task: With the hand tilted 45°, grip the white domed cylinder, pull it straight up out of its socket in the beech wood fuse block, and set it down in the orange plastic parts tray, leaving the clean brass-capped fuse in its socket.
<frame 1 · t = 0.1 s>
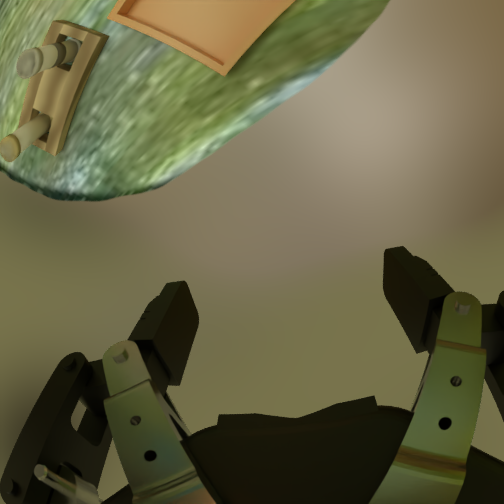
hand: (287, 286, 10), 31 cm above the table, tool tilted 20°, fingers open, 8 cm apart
fuse block: (58, 86, 27), on the table
white domed cylinder: (73, 50, 23), resting in fuse block
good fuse: (47, 120, 30), resting in fuse block
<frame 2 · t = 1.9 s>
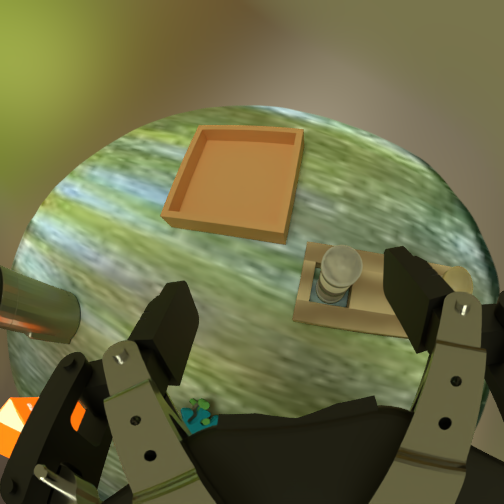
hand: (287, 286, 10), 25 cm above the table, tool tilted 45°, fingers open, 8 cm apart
fuse block: (377, 296, 33), on the table
parts tray: (239, 183, 42), on the table
orange juice: (78, 424, 33), on the table
gear: (202, 429, 31), on the table
white domed cylinder: (330, 288, 34), resting in fuse block
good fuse: (419, 302, 31), resting in fuse block
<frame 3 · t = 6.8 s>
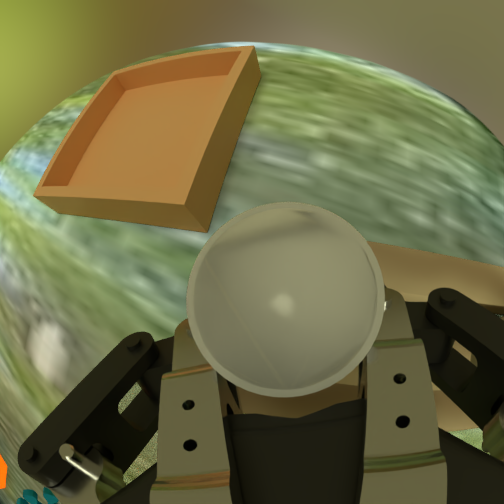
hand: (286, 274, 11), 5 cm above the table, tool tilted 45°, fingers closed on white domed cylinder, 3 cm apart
fuse block: (400, 343, 14), on the table
parts tray: (151, 136, 23), on the table
white domed cylinder: (295, 328, 15), resting in fuse block, touching gripper
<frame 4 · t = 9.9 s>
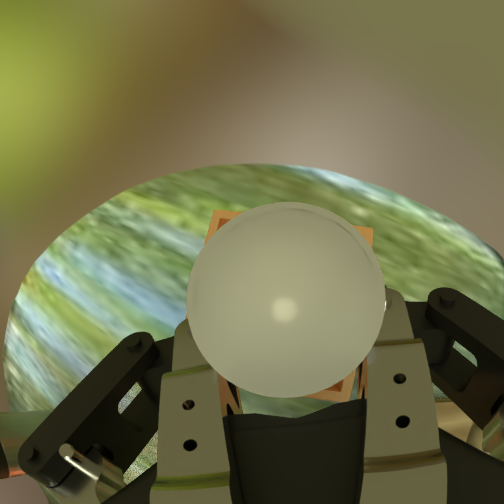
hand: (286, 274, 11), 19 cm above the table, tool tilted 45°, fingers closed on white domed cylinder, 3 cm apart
fuse block: (434, 436, 20), on the table
parts tray: (280, 305, 30), on the table
white domed cylinder: (296, 328, 15), point 14 cm above the table, touching gripper
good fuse: (471, 431, 19), resting in fuse block
when the fingers open (7 cm above the table, at t = 13.0 s): white domed cylinder drops 1 cm, resting on parts tray.
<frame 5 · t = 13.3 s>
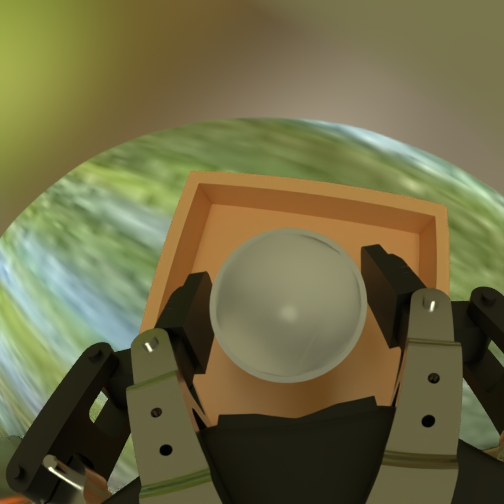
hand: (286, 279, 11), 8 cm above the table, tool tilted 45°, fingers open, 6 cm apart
parts tray: (296, 330, 18), on the table
white domed cylinder: (295, 330, 17), point 1 cm above the table, touching parts tray
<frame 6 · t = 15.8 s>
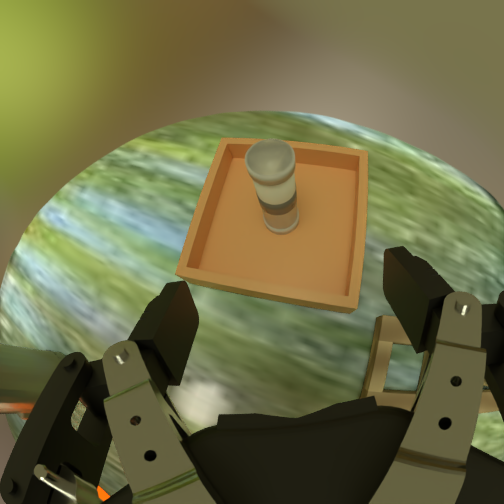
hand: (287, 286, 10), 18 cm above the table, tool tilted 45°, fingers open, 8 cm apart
fuse block: (449, 370, 22), on the table
parts tray: (282, 222, 31), on the table
white domed cylinder: (281, 218, 30), point 1 cm above the table, touching parts tray
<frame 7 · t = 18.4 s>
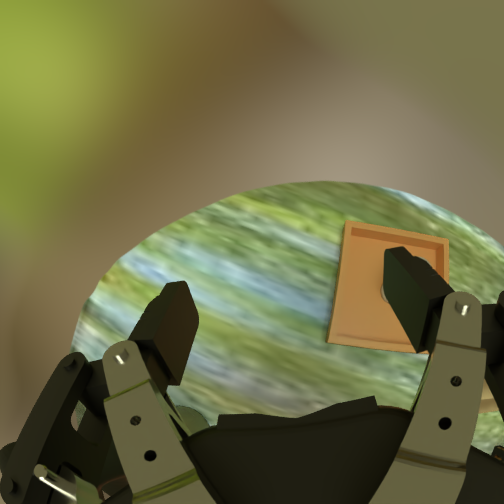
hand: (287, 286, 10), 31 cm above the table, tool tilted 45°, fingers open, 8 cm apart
fuse block: (483, 383, 28), on the table
parts tray: (390, 292, 38), on the table
ammunition clip: (487, 468, 21), on the table
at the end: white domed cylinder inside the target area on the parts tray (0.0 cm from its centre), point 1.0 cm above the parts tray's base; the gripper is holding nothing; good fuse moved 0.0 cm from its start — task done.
